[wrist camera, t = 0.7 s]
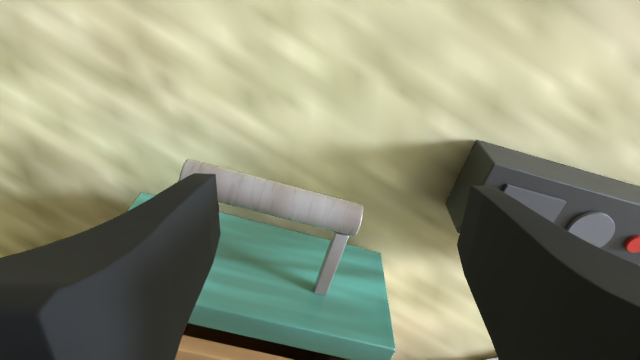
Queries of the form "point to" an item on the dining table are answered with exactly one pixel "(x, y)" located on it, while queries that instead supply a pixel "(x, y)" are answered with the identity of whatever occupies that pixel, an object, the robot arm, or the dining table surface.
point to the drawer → (290, 276)
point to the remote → (556, 196)
